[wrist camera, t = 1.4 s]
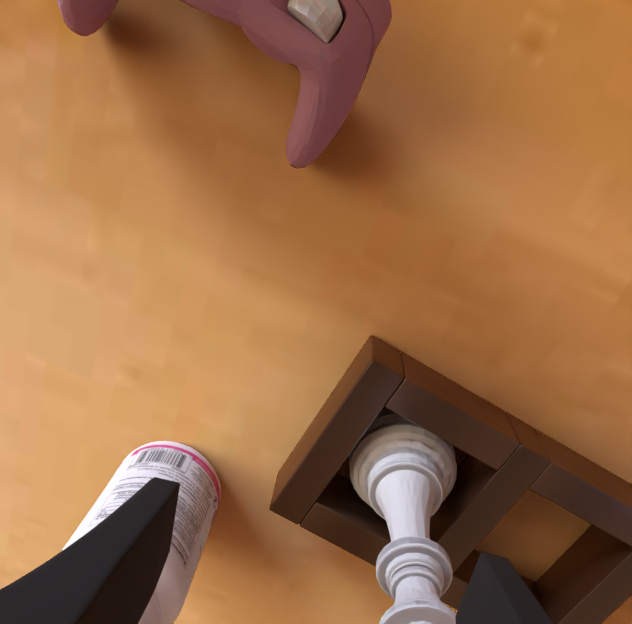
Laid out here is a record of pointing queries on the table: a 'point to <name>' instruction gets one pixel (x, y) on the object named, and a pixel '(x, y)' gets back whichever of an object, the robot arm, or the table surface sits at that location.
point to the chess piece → (407, 513)
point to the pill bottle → (190, 519)
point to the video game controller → (291, 52)
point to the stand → (461, 484)
